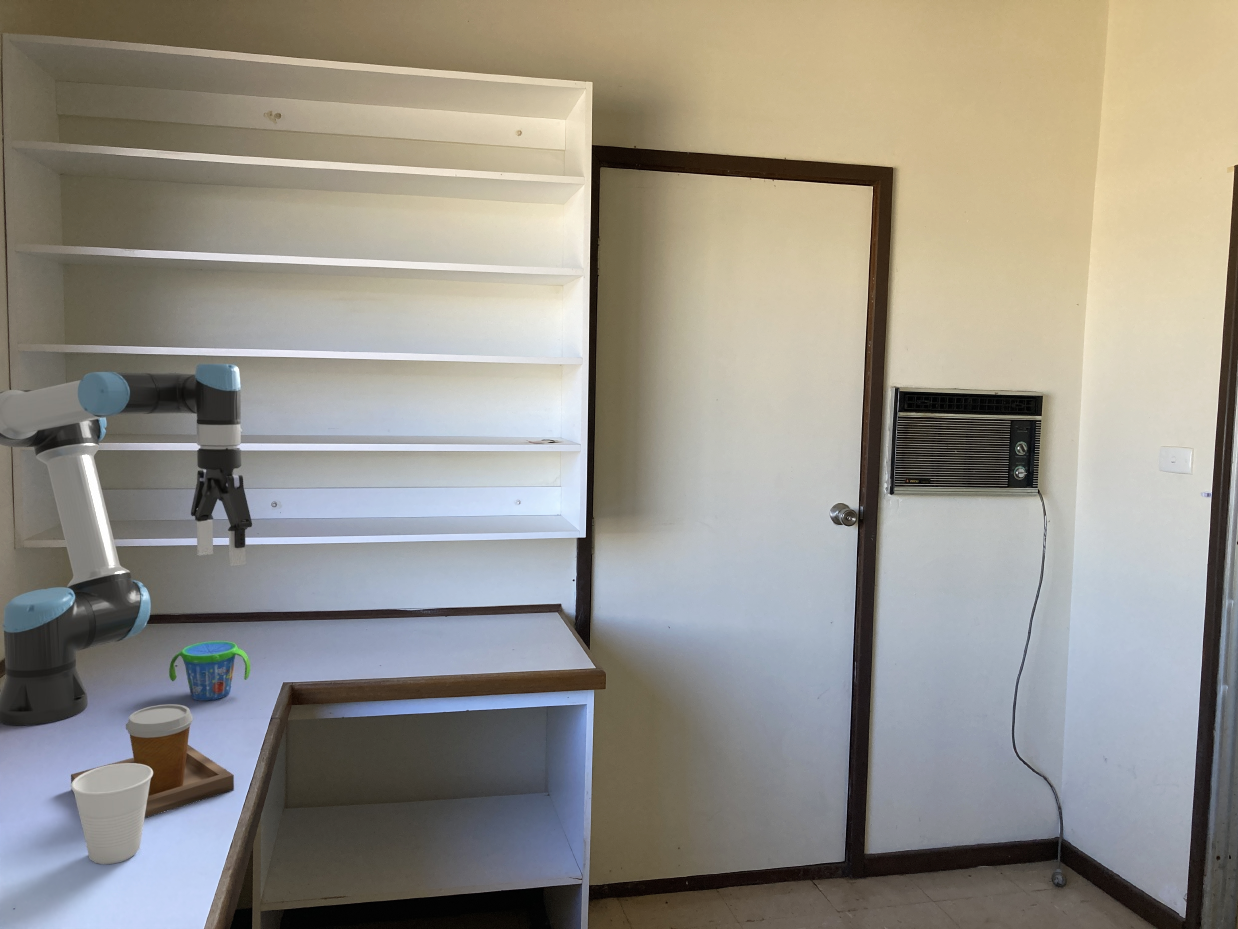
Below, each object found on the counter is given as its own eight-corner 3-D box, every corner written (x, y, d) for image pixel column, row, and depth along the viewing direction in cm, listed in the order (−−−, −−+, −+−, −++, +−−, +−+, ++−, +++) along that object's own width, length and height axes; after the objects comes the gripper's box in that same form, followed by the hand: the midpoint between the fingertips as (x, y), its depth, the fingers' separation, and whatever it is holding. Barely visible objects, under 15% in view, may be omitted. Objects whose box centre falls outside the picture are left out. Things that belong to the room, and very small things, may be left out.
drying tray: (71, 789, 147) (70, 774, 146) (186, 757, 160) (186, 743, 160) (113, 828, 135) (112, 811, 134) (233, 789, 148) (233, 774, 148)
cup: (136, 829, 134) (134, 756, 133) (167, 852, 128) (166, 776, 127) (61, 855, 127) (58, 778, 126) (90, 881, 120) (88, 800, 119)
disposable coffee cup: (190, 796, 143) (188, 721, 142) (121, 804, 140) (119, 727, 139) (197, 771, 152) (196, 701, 151) (133, 778, 149) (131, 706, 148)
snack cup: (160, 703, 186) (159, 654, 185) (185, 686, 196) (184, 639, 195) (237, 705, 186) (236, 656, 185) (258, 688, 196) (257, 641, 195)
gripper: (271, 450, 165) (272, 567, 167) (209, 442, 182) (211, 548, 184) (229, 452, 160) (231, 572, 162) (170, 443, 177) (173, 552, 179)
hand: (221, 559), depth 173 cm, fingers open, 13 cm apart
